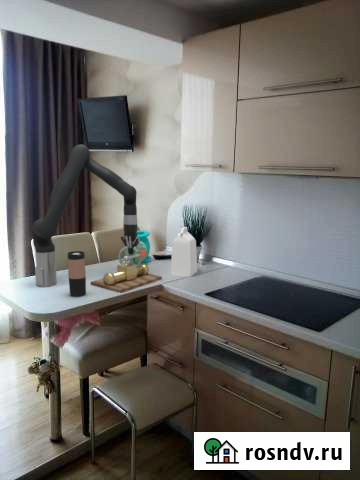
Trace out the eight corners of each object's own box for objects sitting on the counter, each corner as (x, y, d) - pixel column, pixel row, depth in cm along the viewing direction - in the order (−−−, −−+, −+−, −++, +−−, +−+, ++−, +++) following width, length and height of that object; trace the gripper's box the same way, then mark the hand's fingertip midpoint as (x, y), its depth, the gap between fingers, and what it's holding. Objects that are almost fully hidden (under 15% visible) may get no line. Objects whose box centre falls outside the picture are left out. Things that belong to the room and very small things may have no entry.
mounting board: (120, 293, 184) (120, 289, 184) (90, 284, 198) (90, 281, 197) (162, 279, 208) (161, 276, 207) (132, 272, 221) (132, 270, 221)
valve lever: (122, 260, 200) (122, 254, 200) (143, 254, 213) (143, 249, 212) (126, 261, 198) (126, 255, 198) (147, 255, 211) (147, 250, 211)
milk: (190, 276, 212) (190, 229, 208) (170, 275, 216) (170, 228, 211) (197, 271, 223) (197, 226, 219) (178, 269, 227) (178, 225, 222)
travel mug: (72, 292, 186) (70, 251, 182) (88, 292, 186) (86, 251, 182) (67, 297, 178) (65, 254, 175) (83, 297, 178) (81, 254, 174)
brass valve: (111, 287, 189) (110, 265, 187) (101, 285, 194) (101, 263, 192) (150, 275, 211) (149, 255, 209) (140, 273, 215) (140, 253, 213)
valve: (153, 230, 248) (138, 245, 220) (154, 257, 254) (140, 274, 226) (132, 230, 251) (115, 244, 223) (133, 256, 257) (117, 273, 229)
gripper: (116, 222, 211) (117, 254, 214) (135, 224, 204) (135, 257, 207) (125, 221, 217) (126, 251, 220) (144, 223, 210) (144, 254, 213)
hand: (130, 254), depth 213 cm, fingers closed
